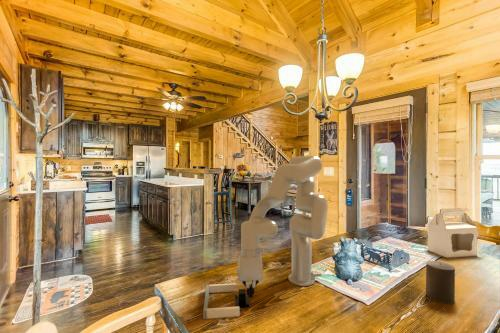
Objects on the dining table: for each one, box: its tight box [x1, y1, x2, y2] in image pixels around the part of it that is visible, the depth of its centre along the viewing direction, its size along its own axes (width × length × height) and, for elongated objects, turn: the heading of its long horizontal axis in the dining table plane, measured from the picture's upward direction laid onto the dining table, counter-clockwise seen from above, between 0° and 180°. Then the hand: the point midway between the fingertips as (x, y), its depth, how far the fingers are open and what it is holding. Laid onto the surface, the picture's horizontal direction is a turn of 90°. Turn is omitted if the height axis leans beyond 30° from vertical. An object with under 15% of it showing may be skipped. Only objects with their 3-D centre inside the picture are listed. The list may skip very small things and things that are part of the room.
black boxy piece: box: [234, 288, 251, 309], centre depth 102 cm, size 12×7×5 cm, turn 3°
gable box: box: [427, 207, 478, 258], centre depth 156 cm, size 22×13×28 cm, turn 99°
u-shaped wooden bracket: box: [202, 282, 241, 320], centre depth 101 cm, size 13×19×3 cm
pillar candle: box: [425, 260, 456, 304], centre depth 105 cm, size 10×10×15 cm
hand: (250, 296), depth 102 cm, fingers closed
